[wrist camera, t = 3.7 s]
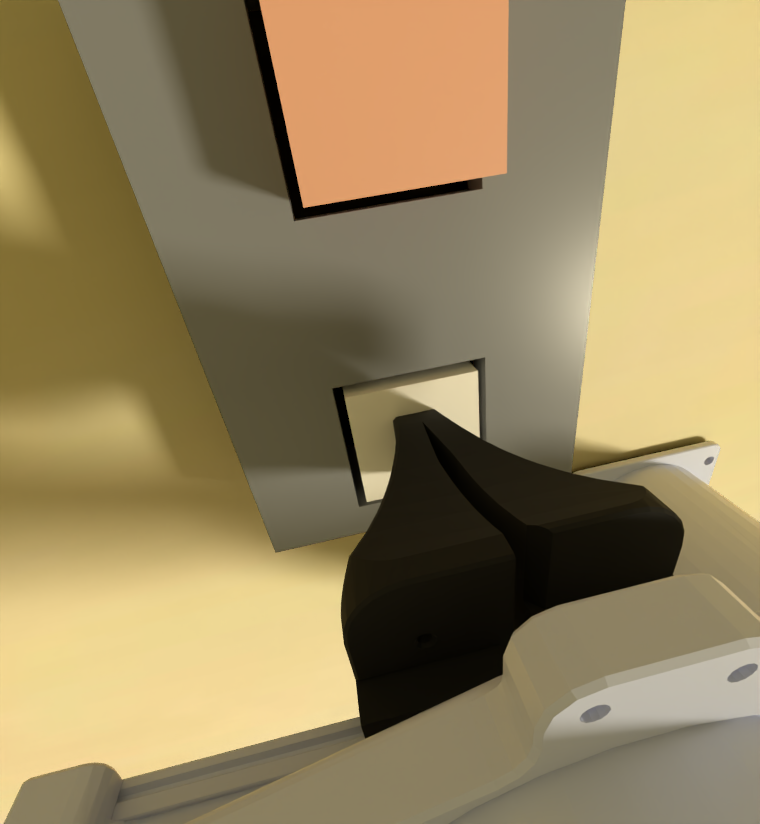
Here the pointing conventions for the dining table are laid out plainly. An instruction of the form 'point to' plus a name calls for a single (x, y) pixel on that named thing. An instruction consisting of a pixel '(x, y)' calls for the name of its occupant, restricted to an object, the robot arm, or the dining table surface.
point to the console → (360, 245)
